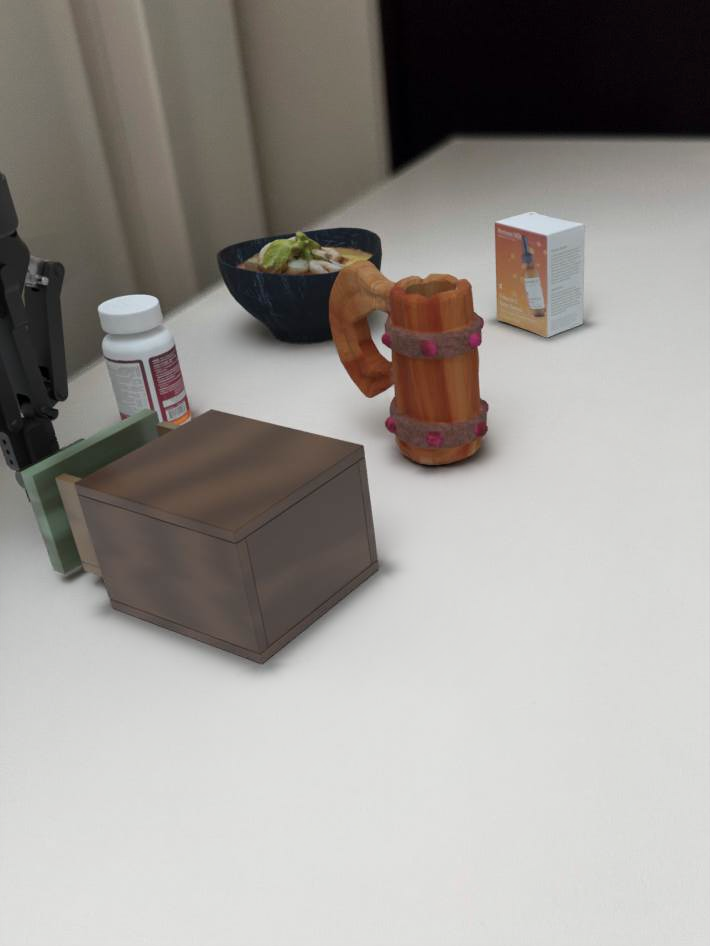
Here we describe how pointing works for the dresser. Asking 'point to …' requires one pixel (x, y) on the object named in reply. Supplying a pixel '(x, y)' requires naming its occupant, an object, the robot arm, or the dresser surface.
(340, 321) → the mug
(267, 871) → the dresser surface
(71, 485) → the drawer
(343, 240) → the bowl
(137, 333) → the pill bottle
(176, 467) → the cabinet
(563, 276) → the small box
